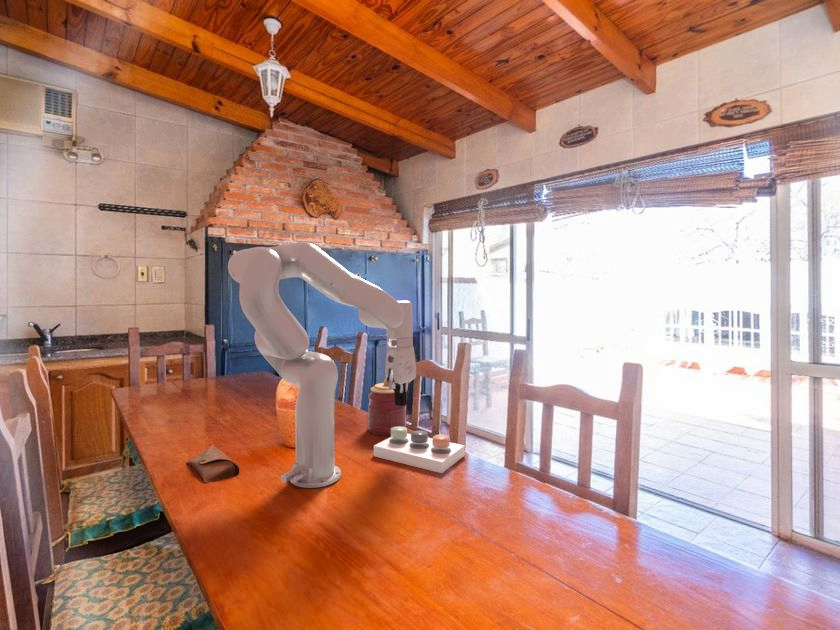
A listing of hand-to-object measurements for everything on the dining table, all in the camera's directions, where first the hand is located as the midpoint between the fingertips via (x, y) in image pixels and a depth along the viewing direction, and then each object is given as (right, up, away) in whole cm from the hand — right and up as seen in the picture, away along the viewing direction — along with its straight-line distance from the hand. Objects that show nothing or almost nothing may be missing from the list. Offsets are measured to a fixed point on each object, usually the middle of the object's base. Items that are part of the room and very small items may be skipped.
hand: (400, 404), depth 127 cm
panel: (+5, -14, -3) cm, 15 cm away
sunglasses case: (-50, -15, -13) cm, 53 cm away
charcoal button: (+5, -9, -3) cm, 11 cm away
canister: (-5, -13, +20) cm, 24 cm away
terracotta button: (+11, -10, -7) cm, 17 cm away
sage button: (-1, -9, 0) cm, 9 cm away
